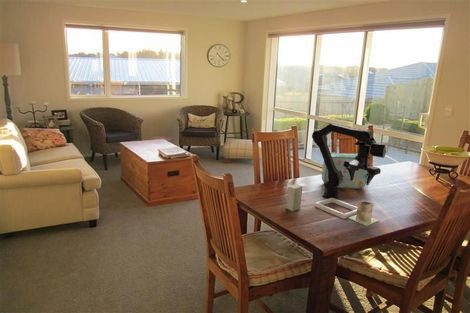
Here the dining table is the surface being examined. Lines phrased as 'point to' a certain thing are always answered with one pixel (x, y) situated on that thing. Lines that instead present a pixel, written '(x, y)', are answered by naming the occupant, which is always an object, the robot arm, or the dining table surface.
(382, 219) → the dining table surface
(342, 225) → the dining table surface
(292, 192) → the skincare box
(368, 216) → the birch parts box
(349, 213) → the white rectangular frame
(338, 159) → the lunch box
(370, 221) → the sage pad
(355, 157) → the robot arm
